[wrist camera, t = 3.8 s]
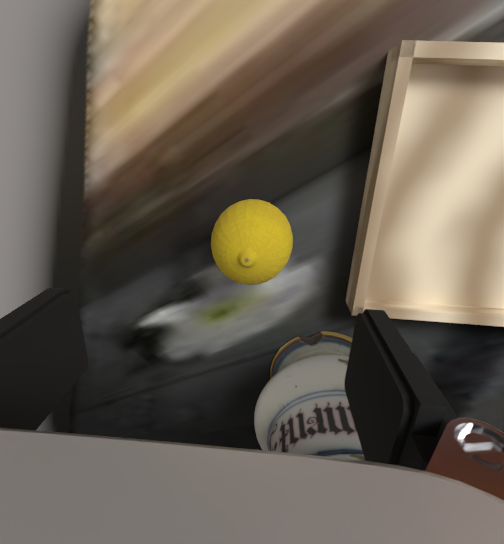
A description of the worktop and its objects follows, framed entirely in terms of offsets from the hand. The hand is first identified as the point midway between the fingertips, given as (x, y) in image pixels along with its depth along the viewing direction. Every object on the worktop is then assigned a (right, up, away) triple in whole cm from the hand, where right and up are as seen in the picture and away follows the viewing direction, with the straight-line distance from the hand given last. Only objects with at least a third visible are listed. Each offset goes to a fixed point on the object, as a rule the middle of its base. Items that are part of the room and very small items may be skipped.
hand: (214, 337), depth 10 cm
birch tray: (+20, +7, +13) cm, 24 cm away
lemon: (+2, +6, +15) cm, 16 cm away
